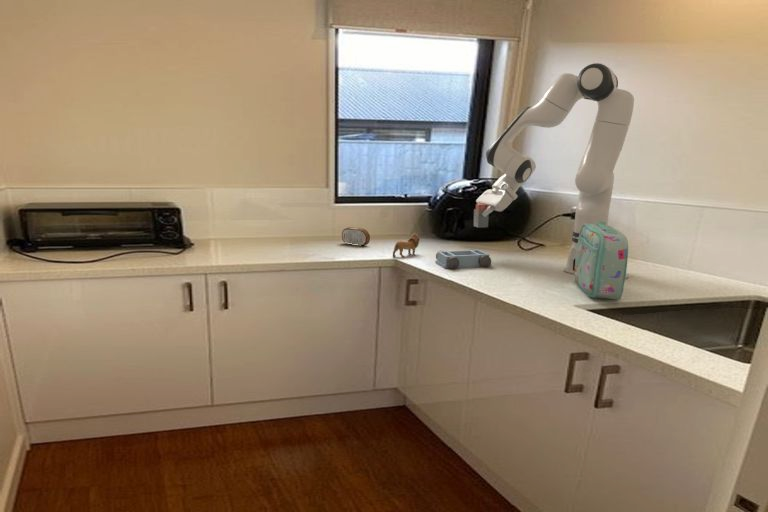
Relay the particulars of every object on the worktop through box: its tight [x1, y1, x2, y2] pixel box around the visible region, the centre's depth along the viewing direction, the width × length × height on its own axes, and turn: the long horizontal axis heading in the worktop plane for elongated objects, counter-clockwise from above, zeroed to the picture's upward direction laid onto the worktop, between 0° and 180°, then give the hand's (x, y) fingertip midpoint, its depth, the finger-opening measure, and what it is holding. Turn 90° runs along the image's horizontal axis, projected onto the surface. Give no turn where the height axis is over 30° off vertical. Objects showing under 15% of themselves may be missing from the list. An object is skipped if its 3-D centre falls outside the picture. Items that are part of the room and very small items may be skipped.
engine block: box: [473, 203, 490, 229], centre depth 193 cm, size 4×4×9 cm
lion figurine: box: [392, 233, 420, 258], centre depth 201 cm, size 15×5×9 cm, turn 131°
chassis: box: [435, 248, 492, 270], centre depth 186 cm, size 14×19×4 cm
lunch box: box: [573, 221, 629, 301], centre depth 147 cm, size 27×10×21 cm, turn 171°
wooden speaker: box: [341, 226, 371, 246], centre depth 226 cm, size 15×3×8 cm, turn 58°
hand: (479, 214), depth 193 cm, fingers closed on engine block, 4 cm apart
